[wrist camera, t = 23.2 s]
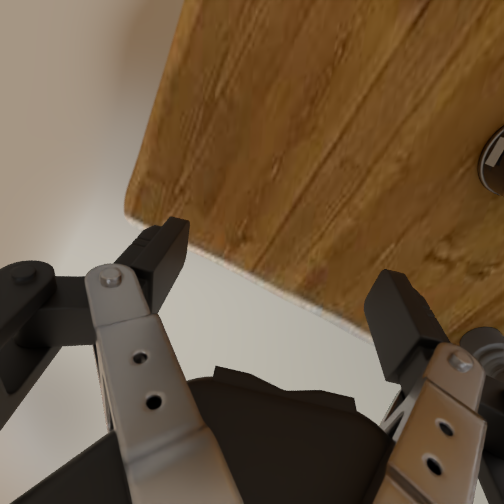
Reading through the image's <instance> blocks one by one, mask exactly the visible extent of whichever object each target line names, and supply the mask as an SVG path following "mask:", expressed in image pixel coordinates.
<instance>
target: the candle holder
mask: <svg viewBox="0 0 504 504" xmlns="http://www.w3.org/2000/svg"><path fill="white" fill-rule="evenodd" d="M460 347H462V348H463V349H465V350H466V351H468V352H469V353H471V354H472V355H473V356H474V357H475V358H476V359H477V360H478V361H479V362H480V363H481V365H482V366H483V368H484V370H485V374H486V375H488V376H490V377H492V378H494V379H496V380H498V381H500V382H503V383H504V336H503V335H502V334H501V333H500V332H499V331H498V330H497V329H495V328H492V327H481V328H476V329H473V330H471V331H469V332H467V333H466V334H465V335H464V336H463V337H462V339H461V340H460Z"/></svg>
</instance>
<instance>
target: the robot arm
mask: <svg viewBox="0 0 504 504" xmlns="http://www.w3.org/2000/svg"><path fill="white" fill-rule="evenodd" d="M478 174H479V178H480V181H481V182H482V184H483V185H484V186H485V187H486V188H487V189H488V190H489V191H491V192H493V193H495V194H497V195H501V196H503V197H504V126H503V127H502V128H501V129H500V130H498V131H497V132H496V133H495V134H494V135H493V137H492V138H491V139H490V140H489V142H488V143H487V145H486V146H485V148H484V150H483V152H482V154H481V157H480V160H479V165H478ZM189 227H190V222H189V221H188V220H184V219H180V218H175V217H169V219H168V220H167V221H166V222H165V223H164V225H163V226H162V227H161V226H157V225H154V226H151V227H149V228H147V229H145V230H143V231H142V233H141V234H140V235H139V236H138V238H137V239H135V240H134V241H133V243H132V244H131V245H130V246H129V247H128V248H127V249H126V250H125V251H124V252H123V253H122V254H121V256H120V257H119V258H118V259H117V260H116V261H115V262H114V263H113V264H104V265H100V266H97V267H95V268H93V269H91V270H90V271H89V272H88V273H87V274H86V276H83V277H69V276H68V277H67V276H66V277H65V276H55V273H54V269H53V267H52V266H51V265H49V264H48V263H45V262H41V261H21V262H16V263H13V264H10V265H7V266H5V267H3V268H1V269H0V430H1V429H2V428H3V426H4V425H5V424H6V422H7V421H8V420H9V418H10V417H11V416H12V414H13V413H14V411H15V410H16V409H17V407H18V406H19V405H20V403H21V402H22V401H23V399H24V398H25V396H26V395H27V394H28V392H29V391H30V390H31V388H32V387H33V386H34V384H35V383H36V382H37V380H38V379H39V377H40V376H41V375H42V373H43V372H44V371H45V369H46V368H47V366H48V365H49V364H50V362H51V361H52V360H53V358H54V357H55V356H56V354H57V353H58V352H59V350H60V349H61V347H62V346H76V345H93V351H94V356H95V361H96V367H97V372H98V378H99V383H100V388H101V393H102V400H103V407H104V413H105V419H106V424H107V430H108V434H106V435H105V436H104V437H102V438H101V439H99V440H98V441H97V442H95V443H94V444H92V445H91V446H90V447H88V448H87V449H86V450H84V451H83V452H81V453H80V454H78V455H77V456H76V457H74V458H73V459H71V460H70V461H69V462H67V463H66V464H65V465H63V466H62V467H60V468H59V469H58V470H56V471H55V472H53V473H52V474H51V475H49V476H48V477H46V478H45V479H44V480H42V481H41V482H40V483H38V484H37V485H35V486H34V487H32V488H31V489H30V490H28V491H27V492H25V493H24V494H23V495H21V496H20V497H19V498H17V499H16V500H14V501H13V502H12V503H10V504H473V500H474V495H475V490H476V484H477V479H479V481H480V484H481V486H482V489H483V491H484V493H485V496H486V498H487V500H488V503H489V504H504V383H503V382H500V381H498V380H496V379H494V378H492V377H490V376H488V375H486V374H485V370H484V368H483V366H482V365H481V363H480V362H479V361H478V360H477V359H476V358H475V357H474V356H473V355H472V354H471V353H469V352H468V351H466V350H465V349H463V348H462V347H460V346H458V345H455V344H452V343H450V341H449V339H448V338H447V336H446V334H445V332H444V331H443V329H442V327H441V326H440V324H439V322H438V321H437V319H436V318H434V317H435V316H434V314H433V312H432V310H430V307H429V305H428V304H427V302H426V300H425V299H424V297H423V296H421V295H420V294H419V293H418V292H417V291H416V290H415V289H414V288H413V287H412V286H411V284H410V282H409V280H408V279H407V277H406V275H405V274H403V273H400V272H395V271H391V270H387V269H384V270H382V271H381V273H380V274H379V276H378V278H377V279H376V281H375V283H374V285H373V286H372V288H371V290H370V292H369V293H368V295H367V297H366V299H365V303H364V312H365V315H366V319H367V322H368V325H369V328H370V332H371V335H372V338H373V341H374V345H375V348H376V351H377V354H378V357H379V360H380V364H381V367H382V370H383V374H384V377H385V380H386V381H388V382H392V383H396V384H400V385H401V390H400V391H399V392H398V393H397V394H396V396H395V398H394V400H393V401H392V403H391V405H390V407H389V409H388V410H387V412H386V414H385V416H384V418H383V420H382V421H381V423H380V425H379V426H378V425H377V424H376V423H374V422H373V421H371V420H370V419H369V418H367V417H366V416H364V415H363V414H361V413H359V412H357V410H356V406H355V400H354V398H352V397H348V396H343V395H339V394H335V393H330V392H326V391H322V390H305V391H286V390H282V389H280V388H278V387H276V386H274V385H272V384H270V383H268V382H266V381H264V380H262V379H260V378H258V377H256V376H254V375H252V374H249V373H245V372H241V371H236V370H232V369H228V368H223V367H219V366H215V370H214V375H213V377H202V378H196V379H192V380H188V381H186V379H185V376H184V374H183V372H182V369H181V367H180V365H179V362H178V360H177V357H176V355H175V352H174V350H173V348H172V345H171V343H170V340H169V338H168V336H167V333H166V331H165V329H164V326H163V324H162V321H161V319H160V317H159V315H158V312H159V310H160V308H161V306H162V304H163V303H164V301H165V299H166V297H167V295H168V293H169V292H170V290H171V288H172V286H173V284H174V282H175V280H176V279H177V277H178V275H179V273H180V271H181V269H182V268H183V265H184V262H185V259H186V254H187V245H188V236H189Z"/></svg>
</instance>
